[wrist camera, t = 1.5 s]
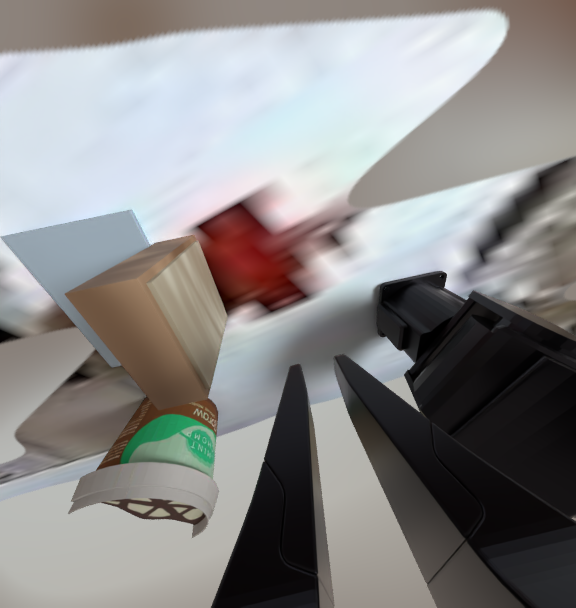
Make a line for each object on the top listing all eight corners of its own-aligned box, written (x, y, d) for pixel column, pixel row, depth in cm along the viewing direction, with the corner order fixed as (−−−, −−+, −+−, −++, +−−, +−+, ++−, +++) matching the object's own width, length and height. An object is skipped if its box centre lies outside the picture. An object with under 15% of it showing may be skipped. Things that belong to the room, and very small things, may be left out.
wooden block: (197, 234, 16) (142, 277, 9) (229, 317, 20) (211, 398, 13) (156, 242, 16) (64, 293, 9) (196, 324, 20) (158, 410, 13)
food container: (248, 414, 28) (244, 516, 19) (215, 434, 29) (196, 538, 21) (169, 364, 22) (113, 477, 14) (132, 392, 24) (59, 512, 15)
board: (132, 209, 15) (129, 210, 15) (200, 345, 22) (200, 348, 21) (5, 235, 15) (0, 236, 15) (113, 364, 21) (111, 367, 21)
